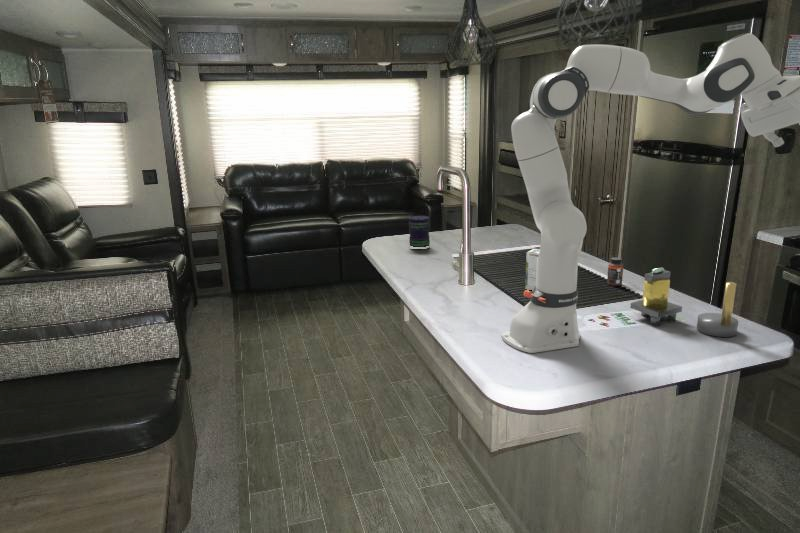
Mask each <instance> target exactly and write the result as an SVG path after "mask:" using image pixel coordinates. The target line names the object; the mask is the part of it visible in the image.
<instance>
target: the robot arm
mask: <svg viewBox="0 0 800 533" xmlns="http://www.w3.org/2000/svg"><path fill="white" fill-rule="evenodd" d="M650 63H651V62H650V61H649V58H648V56H647V55H646V53H644V52H642V51H640V50H637V49H634V48H632V47H627V46H619V45H613V44H600V43H599V44H583V45H580V46H577V47H576V48H575V49H574V50H573V51H572V52H571V54H570V55H569V58H568V61H567V64H566V66H565V68H564V70H560V71H557V72H551V73H547V74H546V75H543V76H542V77H540V78H539V79H538V80H536V81H535V83H534V84H533V86H532V88H531V89H530V93H529V97H528V103H527V108H526V111H524V112H522V113H521V114H519V115H517V116H516V117H515V118H514V119H513V120H512V123H511V128H510V130H511V131H510V132H511V139H512V144H513V148H514V153H515V157H516V160H517V163H518V166H519V169H520V173H521V175H522V176H521V177H522V178H523V181H524V184H525V189H526V192H527V197H528V201H529V205H530V208H531V212H532V216H533V220H534V223H535V225H536V227H537V229H538V230H539V231H540V234H541V236H540V238H541V239H540V245H539V249H540V251H539V256H538V259H537V271H536V286H535V288H534V290H533V291H529V290H525V289H524V291H523V297H526V298H528V299H529V300H530V301H529V302H528V303H527V304H525V305H524V307H522V308H521V309H520V310H519V311H518V312H517V313H516V314H515V315H513V317H512V318H511V321H510V326H509V330H507V331H504V332H502V333H501V340H502V341H503V342H505V343H506V344H508V345H509V346H510V347H512V348H514V349H516V350H518V351H521V352H524V353H530V354H536V353H541V352H548V351H554V350H560V349H561V350H562V349H569V348H575V347H578V346H580V338H581V335H580V330H579V326H578V316H577V315H578V314H577V313H578V312H577V303H578V302H579V301H578V299H579V294H578V293H579V289H578V288H577V287H578V286H577V285H578V269H579V260H580V256H581V251H582V247H583V243H584V238H585V237H586V234H587V231H588V228H587V227H588V226H587V225H588V224H587V221H586V217H585V215H584V214H583V212H582V211H581V210H580V209H579V208H578V207H577V206H575V205H574V203H573V201H572V199H571V193H570V189H569V188H570V187H569V182H568V173H567V169H566V166H565V163H564V159H563V156H562V153H561V149H560V146H559V143H558V139H557V137H556V130H555V127H556V122H557V120H558V119H562V118H566V117H568V116H571V115H572V114H573V113H575V112H576V110H577V109H578V108H579V107H580V106H581V103H582V102H583V100H584V97H585V96H586V94H587V93H588V92H589V91H595V92H602V93H607V94H614V95H624V96H635V97H639V98H640V97H641V98H645V99H650V100H655V101H659V102H663V103H667V104H671V105H674V106H676V107H678V108H679V109H681V110H682V111H684V112H685V113H688V114H691V115H694V116H699V115H703V114H707V113H708V112H710V111H712V110H713V109H716V108H719V107H722V106H723V105H725V104H728V103H730V102H732V101H734V99H735V98H738V96H739V95H740V96H741V97H742V99H743V100H744V103H741V105H740V107H739V113H740V117H741V121H742V123H743V126H744V127H745V129H746V132H747V133H748V135H749V136H751V137H752V138H753V137H754V138H755V137H758V136H761V135H762V136H763V137H764V139H766V140H767V141H769V142H771V144H772V145H773V147H774V148H778V147H782V145H784V144H785V141H784V139H783V138H782V137H779V136H778V135H776V134H775V131H777V130H780V129H784V128H787V127H789V126H793V125H797V124H798V125H799V126H800V75H783V76H782V74H781V72H780V71H779V69H777V68H776V67H775V66H774V64H773V62H772V58H771V55H770V53H769V52H768V50H767V49H766V47H765V46H764V44H763V43H762V41H760V39H758V37H757V36H756V35H754V34H753V33H751V32H750V33H749V32H747V33H746V32H745V33H741V34H738V35H736V36H734V37H732V38H730V39H728V40H726V41H724V42H723V43H721V44H720V45H719V46H718V47H717V51H716V53H715V56H714V58H712V61H711V62H710V63H709V65H708V66H707V67H706V68H705V70H704V71H702V72H700V73H698V74H697V75H694V76H690V77H687V78H679V77H674V76H669V75H664V74H661V73H660V74H659V73H656V72H654V71H652V70H651V65H650Z"/></svg>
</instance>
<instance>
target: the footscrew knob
mask: <svg viewBox="0 0 800 533" xmlns="http://www.w3.org/2000/svg"><path fill="white" fill-rule="evenodd" d="M736 288H737V283H736V282H733V281H726V282H725V288H724V294H723V295H724V297H723V304H722V311H721V313H718V312H705V313H704V312H703V313H699V314H698V315H697V320H696V329H697V330H698V331H699V332H700V333H703V334H705V335H709V336H713V337H719V338H720V337H721V338H730V337H734V336H736V335H737V334H738V328H739V320H738V319H737V318H735V317H733V313H734V312H733V311H734V305H735V297H736V290H737V289H736Z"/></svg>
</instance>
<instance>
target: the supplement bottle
mask: <svg viewBox="0 0 800 533" xmlns="http://www.w3.org/2000/svg"><path fill="white" fill-rule="evenodd" d="M623 275H624V263H622V258H621V257H616V256H615V257H611V258H610V262H608V266H607V276H606V277H607V280H606V284H608V285H609V286H615V287H616V286H617V287H618V286H621V285H623Z"/></svg>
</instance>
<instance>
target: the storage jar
mask: <svg viewBox="0 0 800 533" xmlns="http://www.w3.org/2000/svg"><path fill="white" fill-rule="evenodd" d="M408 228H409V229H408V230H409V238H408V239H409V247H410V246H413V247H426V246H430V244H431V240H430V216H427V215H412V216H409V217H408Z"/></svg>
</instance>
